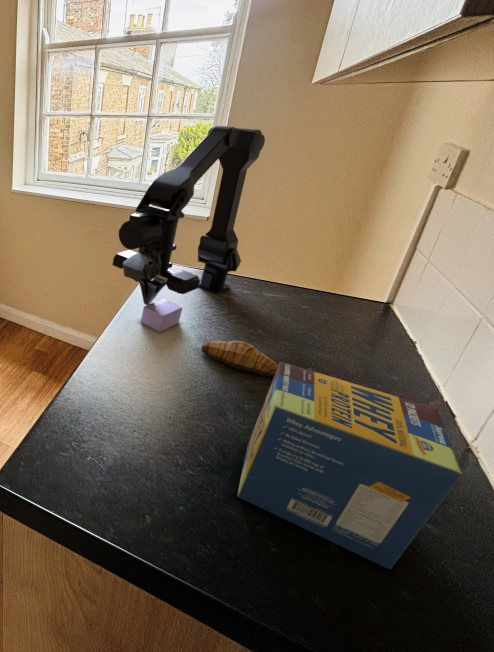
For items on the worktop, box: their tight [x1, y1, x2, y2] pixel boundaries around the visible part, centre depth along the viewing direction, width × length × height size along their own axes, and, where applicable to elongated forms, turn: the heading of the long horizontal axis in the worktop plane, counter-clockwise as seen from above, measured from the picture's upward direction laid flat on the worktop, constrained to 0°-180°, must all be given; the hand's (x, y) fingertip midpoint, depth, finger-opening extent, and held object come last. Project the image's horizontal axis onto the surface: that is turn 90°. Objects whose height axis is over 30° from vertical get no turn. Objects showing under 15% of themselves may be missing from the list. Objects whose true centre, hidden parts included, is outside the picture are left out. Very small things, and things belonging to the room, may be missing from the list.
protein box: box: [236, 361, 463, 570], centre depth 48 cm, size 10×15×16 cm
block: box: [140, 298, 183, 333], centre depth 90 cm, size 7×5×4 cm
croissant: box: [200, 340, 279, 378], centre depth 76 cm, size 14×7×5 cm, turn 52°
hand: (146, 304), depth 92 cm, fingers closed
